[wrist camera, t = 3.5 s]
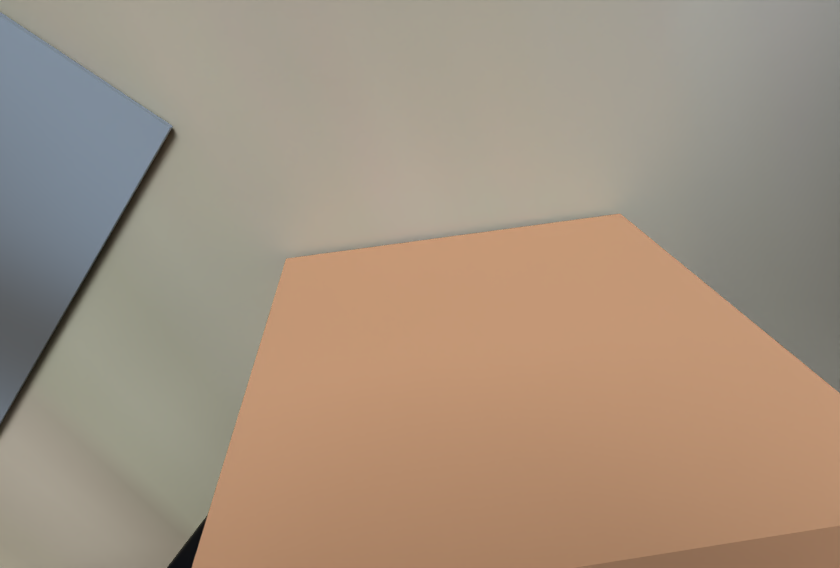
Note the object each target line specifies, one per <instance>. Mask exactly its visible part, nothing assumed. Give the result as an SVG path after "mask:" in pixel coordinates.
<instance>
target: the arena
mask: <svg viewBox="0 0 840 568" xmlns="http://www.w3.org/2000/svg"><path fill="white" fill-rule="evenodd" d="M172 127H173V126H172V125H170V124H169V123H167V122H166V121H164V120H163V119H161V118H160V117H158V116H156V115H155V114H153V113H152V112H150V111H149V110H147V109H146V108H144V107H143V106H141V105H140V104H138V103H137V102H135V101H134V100H132V99H131V98H129V97H128V96H126V95H125V94H123V93H122V92H120V91H119V90H117V89H116V88H114V87H113V86H111V85H110V84H108V83H107V82H105V81H104V80H102V79H101V78H99V77H98V76H96V75H94V74H93V73H91V72H90V71H88V70H87V69H85V68H84V67H82V66H81V65H79V64H78V63H76V62H75V61H73V60H72V59H70V58H69V57H67V56H66V55H64V54H63V53H61V52H60V51H58V50H57V49H55V48H54V47H52V46H51V45H49V44H48V43H46V42H45V41H43V40H42V39H40V38H39V37H37V36H36V35H34V34H33V33H31V32H29V31H28V30H26V29H25V28H23V27H22V26H20V25H19V24H17V23H16V22H14V21H13V20H11V19H10V18H8V17H7V16H5V15H4V14H2V13H1V12H0V424H1V422H2V421H3V419H4V417H5V416H6V414H7V412H8V410H9V409H10V407H11V405H12V403H13V402H14V400H15V398H16V397H17V395H18V393H19V391H20V390H21V388H22V386H23V384H24V383H25V381H26V379H27V378H28V376H29V374H30V372H31V371H32V369H33V367H34V365H35V364H36V362H37V360H38V359H39V357H40V355H41V353H42V352H43V350H44V348H45V346H46V345H47V343H48V341H49V340H50V338H51V336H52V334H53V333H54V331H55V329H56V327H57V326H58V324H59V322H60V321H61V319H62V317H63V315H64V314H65V312H66V310H67V308H68V307H69V305H70V303H71V302H72V300H73V298H74V296H75V295H76V293H77V291H78V289H79V288H80V286H81V284H82V283H83V281H84V279H85V277H86V276H87V274H88V272H89V270H90V269H91V267H92V265H93V264H94V262H95V260H96V258H97V257H98V255H99V253H100V251H101V250H102V248H103V246H104V245H105V243H106V241H107V239H108V238H109V236H110V234H111V232H112V231H113V229H114V227H115V226H116V224H117V222H118V220H119V219H120V217H121V215H122V213H123V212H124V210H125V208H126V207H127V205H128V203H129V201H130V200H131V198H132V196H133V194H134V193H135V191H136V189H137V188H138V186H139V184H140V182H141V181H142V179H143V177H144V175H145V174H146V172H147V170H148V169H149V167H150V165H151V163H152V162H153V160H154V158H155V156H156V155H157V153H158V151H159V150H160V148H161V146H162V144H163V143H164V141H165V139H166V137H167V136H168V134H169V132H170V131H171V129H172Z"/></svg>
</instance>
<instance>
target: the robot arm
mask: <svg viewBox="0 0 840 568" xmlns="http://www.w3.org/2000/svg"><path fill="white" fill-rule="evenodd" d="M207 516H208V515H207ZM207 516H206V518H205V519H204V520H203V522H202V523H201V524H200V525H199V527H198V528H197V529H196V531H195V532H194V533H193V535H192V536H191V537H190V538H189V540H188V541H187V542H186V544H185V545H184V546H183V548H182V549H181V550H180V551H179V553H178V554H177V555H176V557H175V558H174V559H173V561H172V562H171V563H170V564H169V566H168V567H167V568H192V565H193V561H194V558H195V555H196V552H197V548H198V545H199V542H200V539H201V535H202V532H203V529H204V526H205V522H206V519H207Z"/></svg>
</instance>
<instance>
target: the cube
mask: <svg viewBox="0 0 840 568" xmlns="http://www.w3.org/2000/svg"><path fill="white" fill-rule="evenodd" d="M192 568H840V393H839V392H838V391H836V390H835V389H834V388H833V387H832V386H830V385H829V384H828V383H827V382H825V381H824V380H823V379H822V378H821V377H819V376H818V375H817V374H816V373H814V372H813V371H812V370H811V369H810V368H808V367H807V366H806V365H805V364H803V363H802V362H801V361H800V360H799V359H797V358H796V357H795V356H794V355H792V354H791V353H790V352H789V351H788V350H786V349H785V348H784V347H783V346H781V345H780V344H779V343H778V342H777V341H775V340H774V339H773V338H772V337H770V336H769V335H768V334H767V333H765V332H764V331H763V330H762V329H761V328H759V327H758V326H757V325H756V324H754V323H753V322H752V321H751V320H750V319H748V318H747V317H746V316H745V315H743V314H742V313H741V312H740V311H739V310H737V309H736V308H735V307H734V306H732V305H731V304H730V303H729V302H728V301H726V300H725V299H724V298H723V297H721V296H720V295H719V294H718V293H717V292H715V291H714V290H713V289H712V288H710V287H709V286H708V285H707V284H706V283H704V282H703V281H702V280H701V279H699V278H698V277H697V276H696V275H695V274H693V273H692V272H691V271H690V270H688V269H687V268H686V267H685V266H684V265H682V264H681V263H680V262H679V261H677V260H676V259H675V258H674V257H673V256H671V255H670V254H669V253H668V252H666V251H665V250H664V249H663V248H662V247H660V246H659V245H658V244H657V243H655V242H654V241H653V240H652V239H651V238H649V237H648V236H647V235H646V234H644V233H643V232H642V231H641V230H640V229H638V228H637V227H636V226H635V225H633V224H632V223H631V222H630V221H629V220H627V219H626V218H625V217H624V216H622V215H621V214H614V215H607V216H600V217H592V218H585V219H577V220H570V221H562V222H555V223H548V224H540V225H533V226H525V227H518V228H510V229H503V230H496V231H488V232H481V233H473V234H466V235H458V236H451V237H444V238H436V239H429V240H421V241H414V242H406V243H399V244H392V245H384V246H377V247H369V248H362V249H354V250H347V251H340V252H332V253H325V254H317V255H310V256H302V257H295V258H288V259H286V261H285V264H284V267H283V271H282V274H281V277H280V281H279V284H278V287H277V290H276V294H275V297H274V300H273V303H272V307H271V310H270V313H269V316H268V320H267V323H266V326H265V330H264V333H263V336H262V339H261V343H260V346H259V349H258V352H257V356H256V359H255V362H254V365H253V369H252V372H251V375H250V379H249V382H248V385H247V388H246V392H245V395H244V398H243V401H242V405H241V408H240V411H239V414H238V418H237V421H236V424H235V428H234V431H233V434H232V437H231V441H230V444H229V447H228V450H227V454H226V457H225V460H224V463H223V467H222V470H221V473H220V477H219V480H218V483H217V486H216V490H215V493H214V496H213V499H212V503H211V506H210V509H209V512H208V516H207V519H206V522H205V526H204V529H203V532H202V535H201V539H200V542H199V545H198V548H197V552H196V555H195V558H194V561H193V565H192Z"/></svg>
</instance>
